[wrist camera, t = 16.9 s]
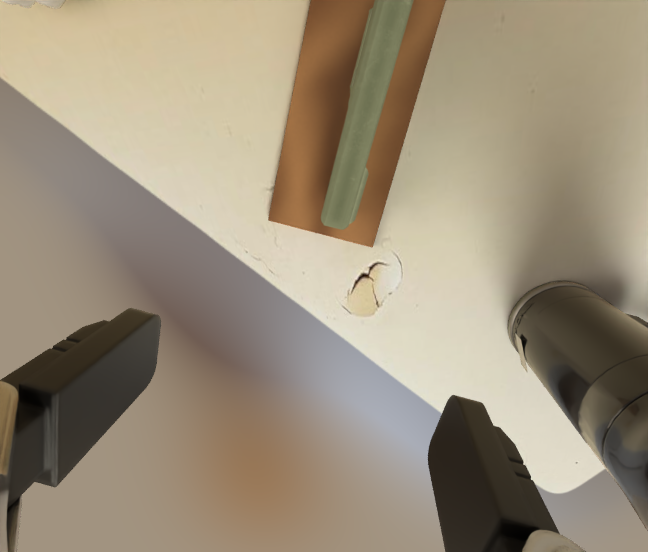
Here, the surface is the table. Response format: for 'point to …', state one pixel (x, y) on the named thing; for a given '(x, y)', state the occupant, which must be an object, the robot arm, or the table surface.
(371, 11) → the handheld radio
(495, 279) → the table surface
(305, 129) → the wooden board
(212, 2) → the table surface
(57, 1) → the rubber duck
